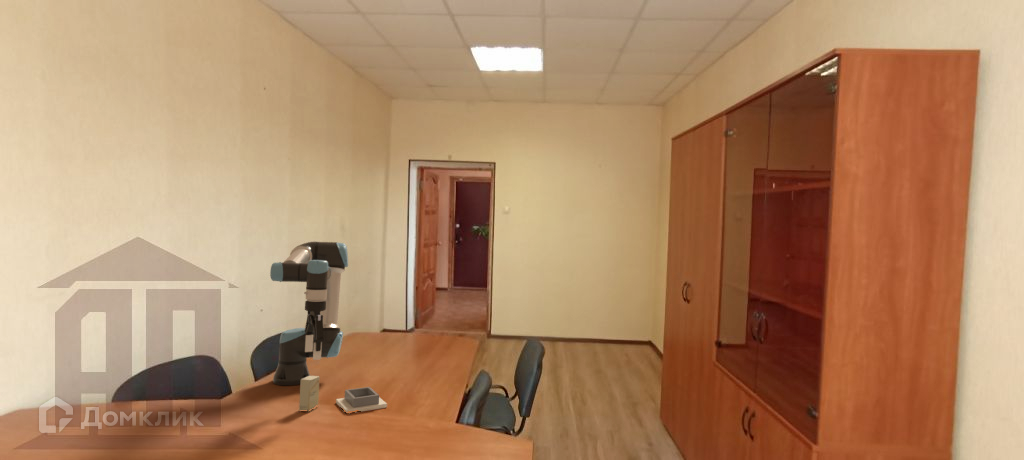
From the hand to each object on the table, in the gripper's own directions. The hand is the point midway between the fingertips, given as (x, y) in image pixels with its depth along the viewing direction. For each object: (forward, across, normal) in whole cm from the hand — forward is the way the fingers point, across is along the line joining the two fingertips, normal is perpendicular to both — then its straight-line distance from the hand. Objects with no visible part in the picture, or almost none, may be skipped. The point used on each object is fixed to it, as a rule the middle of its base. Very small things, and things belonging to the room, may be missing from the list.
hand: (312, 355), depth 185 cm
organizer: (+20, +4, +19) cm, 28 cm away
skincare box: (+21, 0, 0) cm, 21 cm away
